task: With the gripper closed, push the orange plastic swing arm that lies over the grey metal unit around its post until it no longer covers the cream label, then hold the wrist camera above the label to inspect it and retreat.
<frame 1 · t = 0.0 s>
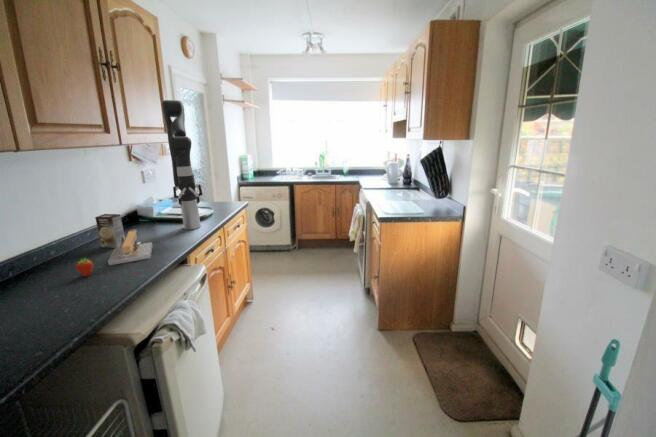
hand: (189, 204, 170), 17 cm above the counter, tool pointing down, fingers open, 8 cm apart
fruit: (87, 276, 125), on the counter
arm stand: (135, 245, 159), on the counter
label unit: (132, 254, 146), on the counter
coffee box: (114, 245, 159), on the counter
swing arm: (130, 240, 146), point 7 cm above the counter, hinge at 0.0°
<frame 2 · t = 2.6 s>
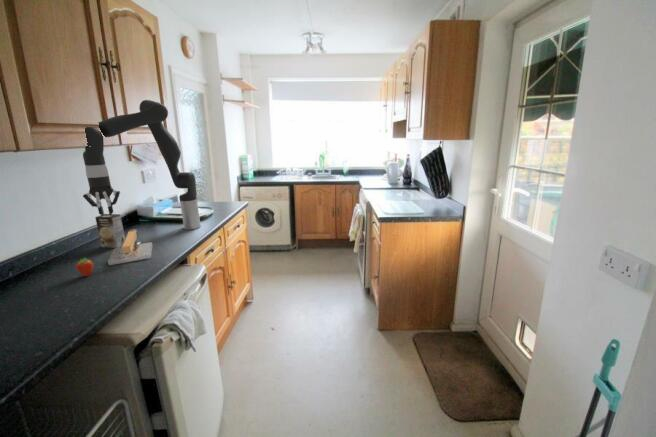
hand: (106, 214, 136), 21 cm above the counter, tool pointing down, fingers closed
nothing on the counter moved.
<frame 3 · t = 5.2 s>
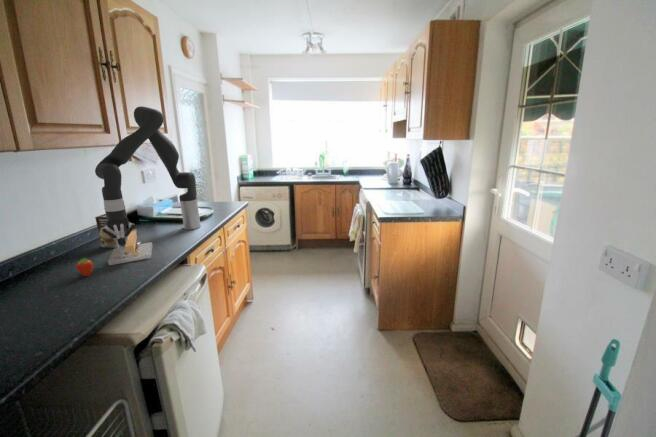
hand: (122, 245, 141), 6 cm above the counter, tool pointing down, fingers closed
swing arm: (131, 239, 147), point 7 cm above the counter, hinge at 2.6°, touching gripper
everything else where it was.
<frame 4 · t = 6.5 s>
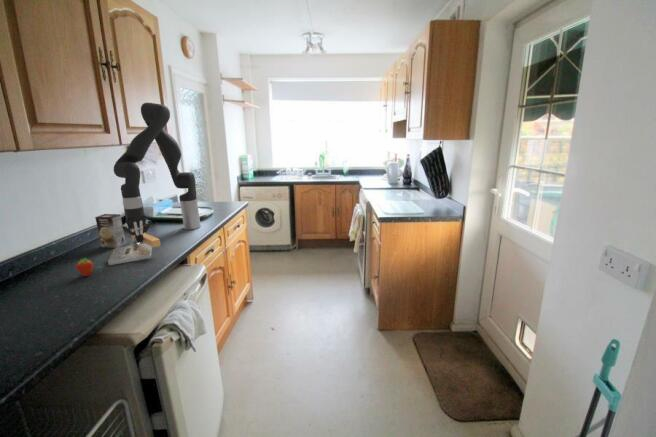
hand: (140, 242, 145), 6 cm above the counter, tool pointing down, fingers closed
swing arm: (143, 237, 150), point 7 cm above the counter, hinge at 26.3°, touching gripper
everything else where it was.
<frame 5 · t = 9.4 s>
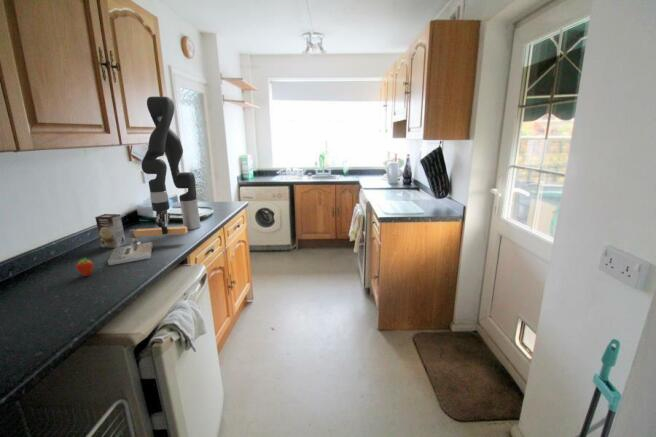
hand: (165, 233, 156), 6 cm above the counter, tool pointing down, fingers closed
swing arm: (158, 231, 158), point 7 cm above the counter, hinge at 71.0°, touching gripper
everything else where it was.
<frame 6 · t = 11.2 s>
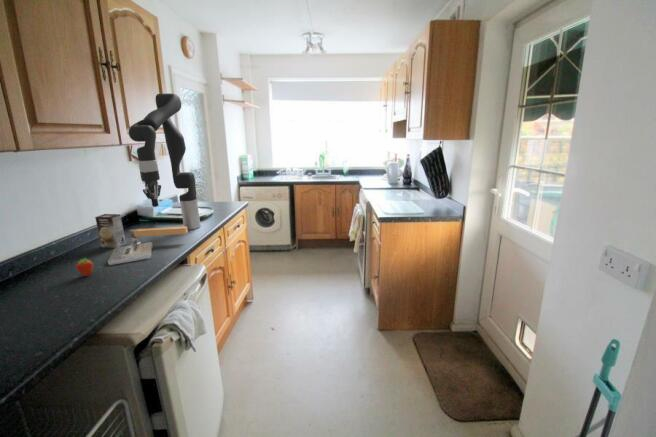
hand: (155, 206, 147), 21 cm above the counter, tool pointing down, fingers closed
swing arm: (158, 231, 158), point 7 cm above the counter, hinge at 71.1°
everything else where it was.
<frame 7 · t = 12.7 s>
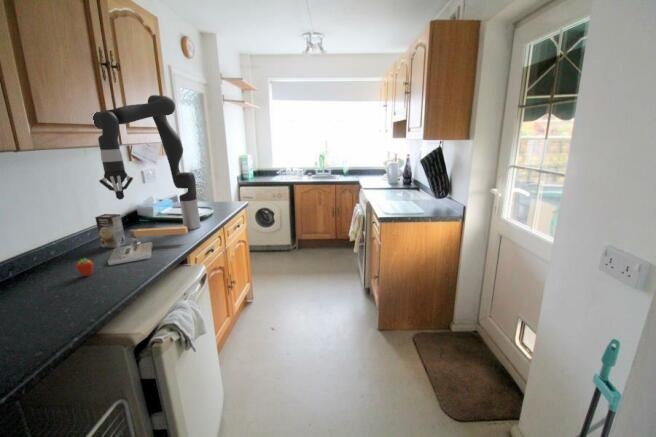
hand: (120, 199, 138), 27 cm above the counter, tool pointing down, fingers closed
nothing on the counter moved.
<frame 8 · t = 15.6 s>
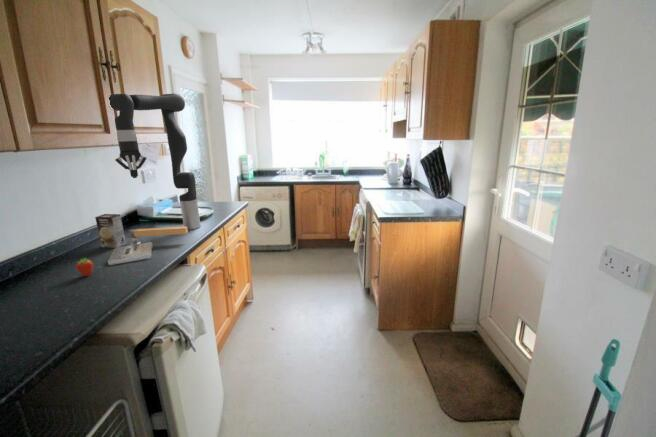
hand: (134, 177, 146), 35 cm above the counter, tool pointing down, fingers closed
nothing on the counter moved.
at the end: swing arm at +71° (first picture: +0°) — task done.
